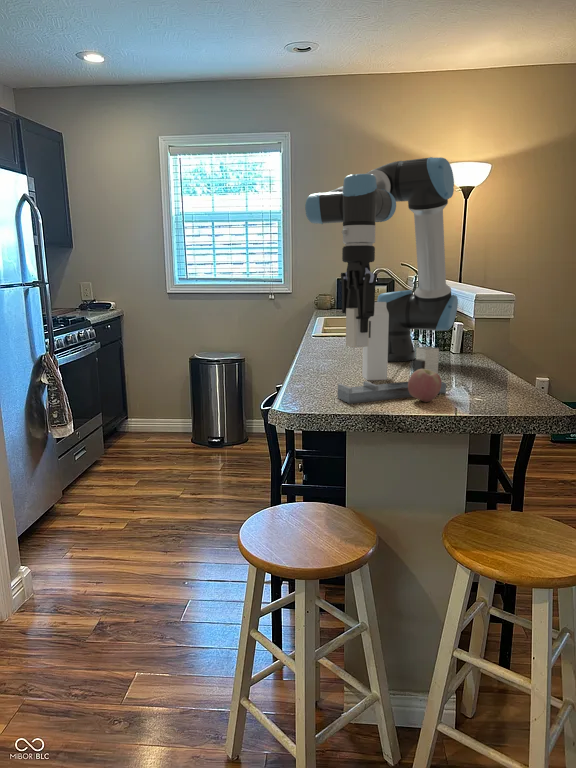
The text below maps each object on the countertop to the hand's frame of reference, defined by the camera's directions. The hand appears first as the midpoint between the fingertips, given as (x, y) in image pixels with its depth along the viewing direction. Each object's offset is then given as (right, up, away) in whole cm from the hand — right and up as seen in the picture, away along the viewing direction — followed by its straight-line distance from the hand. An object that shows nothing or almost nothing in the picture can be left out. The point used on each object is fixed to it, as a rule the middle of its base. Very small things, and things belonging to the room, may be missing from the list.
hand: (356, 344), depth 137 cm
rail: (+10, -12, +7) cm, 17 cm away
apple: (+16, -14, 0) cm, 21 cm away
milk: (+9, -8, +28) cm, 31 cm away
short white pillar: (0, 0, 0) cm, 0 cm away
